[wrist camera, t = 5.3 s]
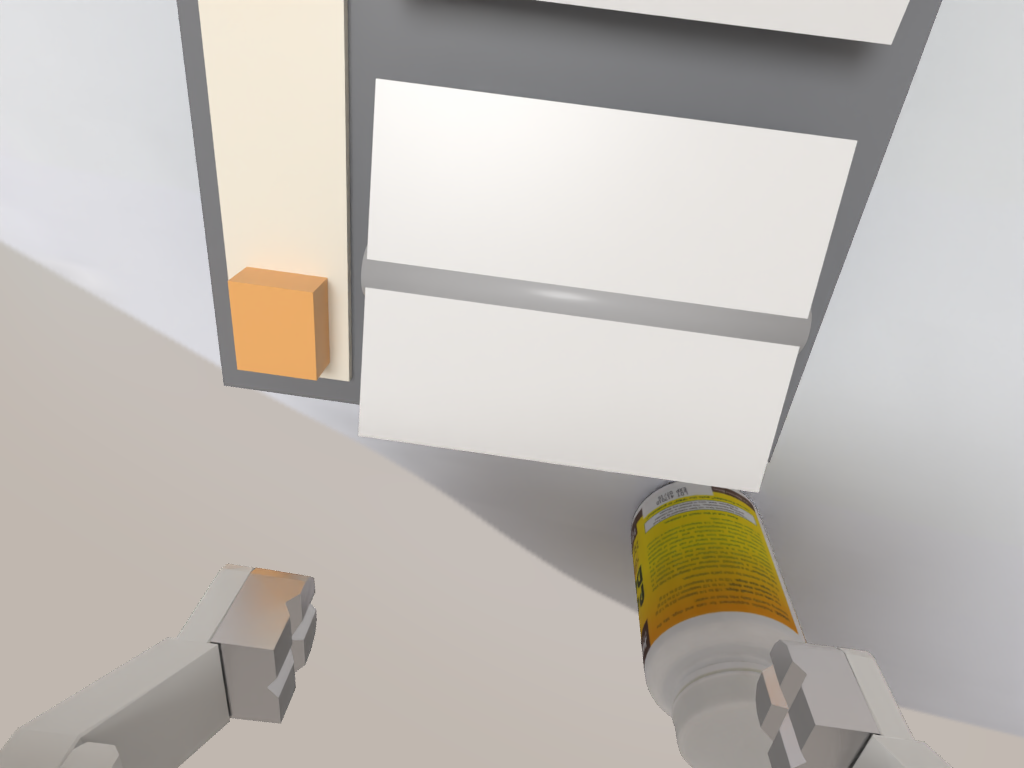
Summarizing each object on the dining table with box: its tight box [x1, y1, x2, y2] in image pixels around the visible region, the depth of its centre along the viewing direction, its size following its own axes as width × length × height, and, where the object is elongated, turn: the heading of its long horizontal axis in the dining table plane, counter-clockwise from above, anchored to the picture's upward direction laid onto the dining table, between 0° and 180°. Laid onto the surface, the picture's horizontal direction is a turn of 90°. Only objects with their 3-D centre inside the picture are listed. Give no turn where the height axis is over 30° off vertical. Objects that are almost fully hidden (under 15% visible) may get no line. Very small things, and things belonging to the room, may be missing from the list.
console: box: [177, 0, 942, 462], centre depth 18 cm, size 18×22×6 cm
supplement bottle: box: [631, 481, 806, 768], centre depth 25 cm, size 6×6×10 cm
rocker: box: [358, 78, 857, 493], centre depth 17 cm, size 11×9×1 cm
